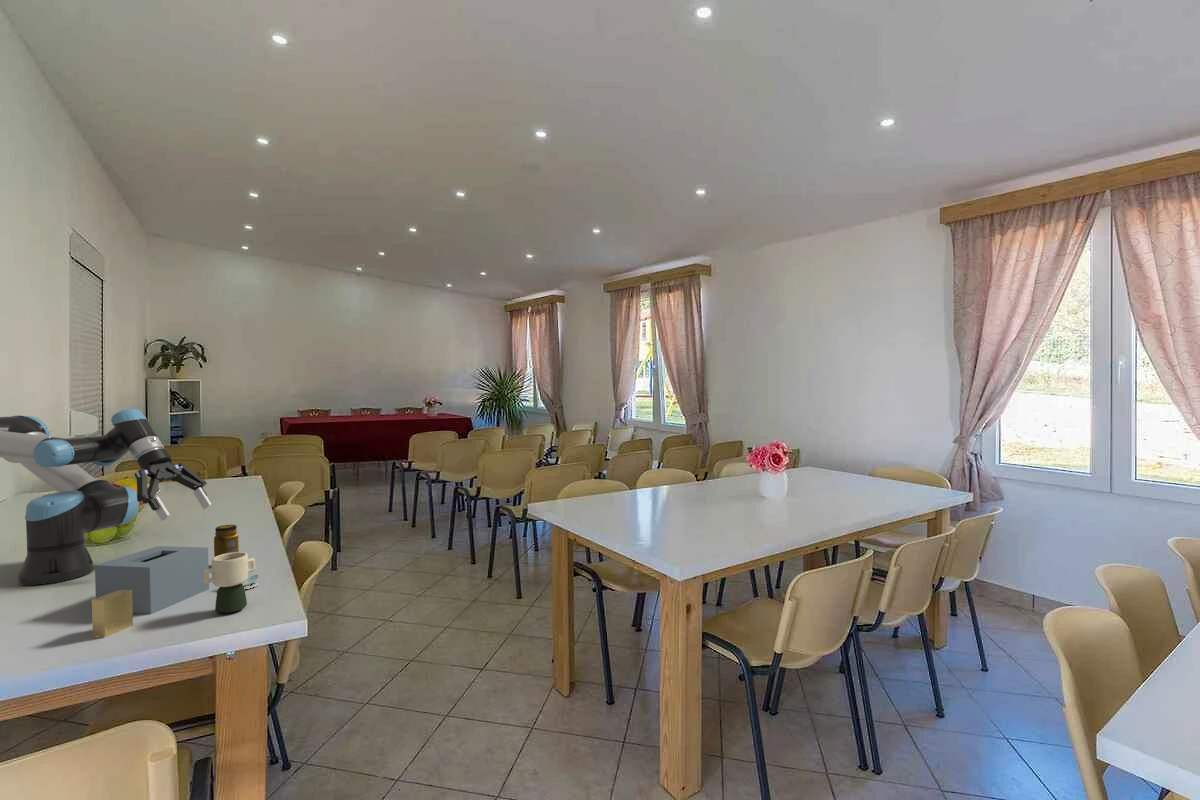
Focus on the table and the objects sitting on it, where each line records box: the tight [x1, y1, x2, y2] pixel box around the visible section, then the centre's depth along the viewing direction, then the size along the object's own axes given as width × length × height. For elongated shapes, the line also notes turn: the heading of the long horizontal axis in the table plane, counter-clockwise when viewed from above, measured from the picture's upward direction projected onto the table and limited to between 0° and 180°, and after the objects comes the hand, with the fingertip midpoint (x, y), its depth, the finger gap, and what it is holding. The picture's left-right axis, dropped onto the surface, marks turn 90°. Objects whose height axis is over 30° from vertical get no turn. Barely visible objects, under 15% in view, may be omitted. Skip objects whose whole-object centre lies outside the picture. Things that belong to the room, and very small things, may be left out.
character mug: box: [204, 551, 256, 613], centre depth 129 cm, size 11×7×13 cm, turn 147°
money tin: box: [94, 545, 210, 615], centre depth 136 cm, size 15×16×11 cm
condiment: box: [213, 524, 240, 558], centre depth 162 cm, size 7×8×12 cm
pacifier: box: [242, 566, 260, 590], centre depth 144 cm, size 7×6×6 cm
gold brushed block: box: [91, 590, 134, 638], centre depth 118 cm, size 3×6×8 cm, turn 172°
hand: (187, 512), depth 163 cm, fingers open, 13 cm apart
